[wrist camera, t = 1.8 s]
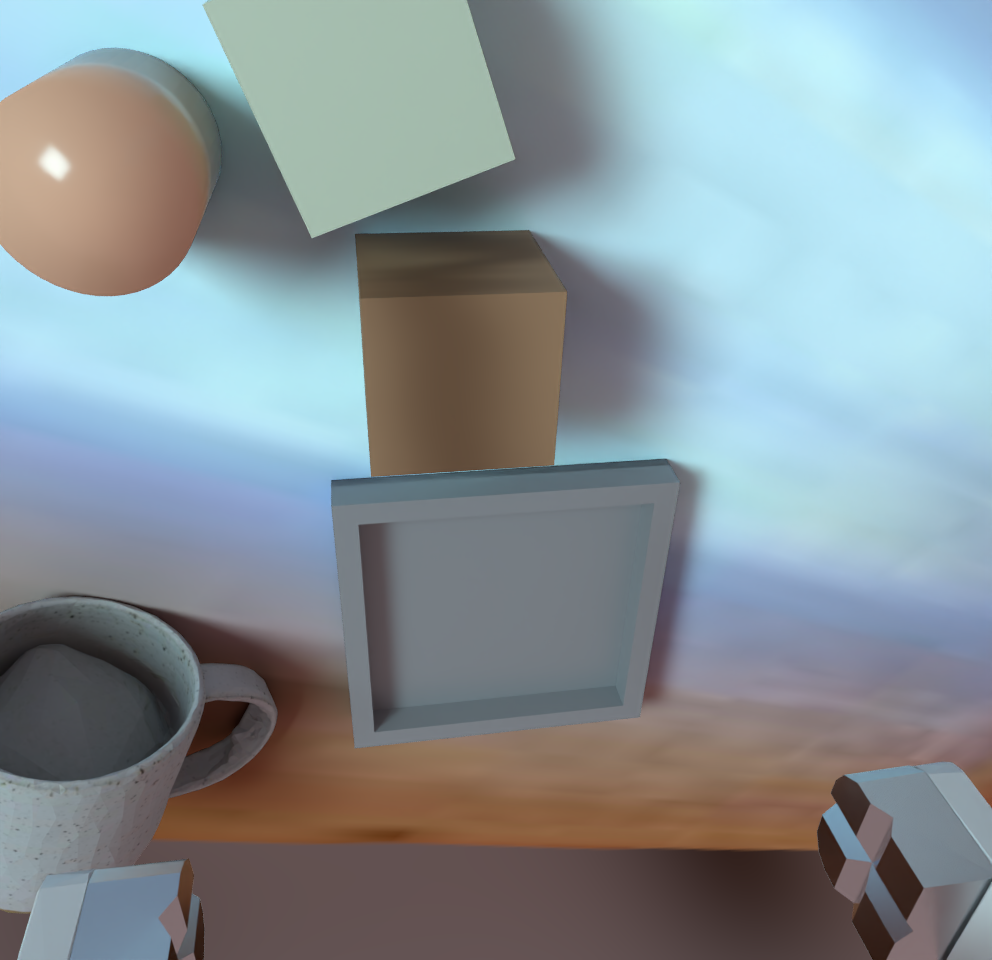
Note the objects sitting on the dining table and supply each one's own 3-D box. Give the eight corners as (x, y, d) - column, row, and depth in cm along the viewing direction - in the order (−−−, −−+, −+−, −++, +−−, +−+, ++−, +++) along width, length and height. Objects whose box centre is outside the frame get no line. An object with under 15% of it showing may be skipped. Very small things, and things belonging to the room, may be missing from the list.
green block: (419, -91, 20) (438, -92, 17) (486, 119, 23) (515, 159, 20) (225, -13, 21) (202, 4, 17) (314, 186, 24) (311, 238, 20)
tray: (666, 458, 30) (680, 482, 29) (629, 690, 37) (639, 717, 35) (331, 480, 29) (331, 506, 27) (354, 718, 35) (354, 748, 34)
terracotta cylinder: (207, 48, 21) (178, 81, 17) (233, 226, 24) (212, 292, 20) (17, 46, 21) (-61, 81, 16) (63, 229, 23) (5, 299, 19)
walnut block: (528, 229, 25) (566, 291, 21) (521, 383, 28) (554, 465, 24) (355, 233, 24) (360, 298, 20) (365, 390, 27) (371, 476, 23)
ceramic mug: (-34, 740, 32) (-118, 942, 26) (-19, 576, 28) (-112, 766, 22) (251, 767, 36) (238, 950, 30) (300, 624, 32) (297, 800, 26)
